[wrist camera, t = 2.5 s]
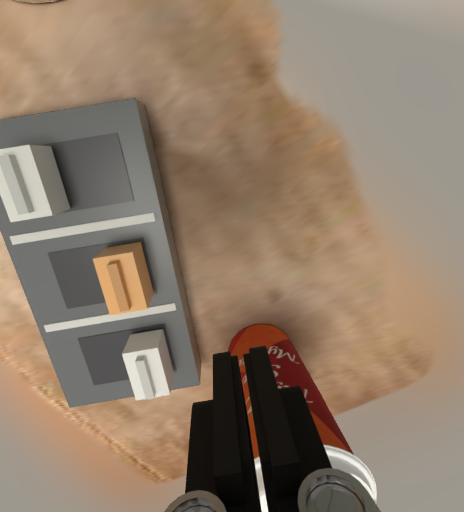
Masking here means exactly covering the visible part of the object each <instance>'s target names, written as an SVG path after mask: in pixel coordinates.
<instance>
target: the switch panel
mask: <svg viewBox="0 0 464 512" xmlns="http://www.w3.org/2000/svg"><path fill="white" fill-rule="evenodd" d="M24 145H42V146H51V148H52V151H53V154H54V158H55V161H56V164H57V167H58V170H59V173H60V177H61V180H62V183H63V186H64V189H65V193H66V196H67V199H68V202H69V205H70V209H69V210H66V211H63V212H61V213H58V214H55V215H52V216H46V217H40V218H34V219H28V220H22V221H16V222H10V219H9V217H8V214H7V211H6V209H5V206H4V203H3V201H2V198H1V195H0V231H1V233H2V236H3V239H4V241H5V244H6V246H7V249H8V251H9V254H10V256H11V259H12V262H13V264H14V267H15V269H16V272H17V274H18V277H19V279H20V282H21V285H22V287H23V290H24V292H25V295H26V297H27V300H28V303H29V305H30V308H31V310H32V313H33V315H34V318H35V320H36V323H37V326H38V328H39V331H40V333H41V336H42V338H43V341H44V343H45V346H46V349H47V351H48V354H49V356H50V359H51V361H52V364H53V367H54V369H55V372H56V374H57V377H58V379H59V382H60V384H61V387H62V390H63V392H64V395H65V397H66V400H67V402H68V405H69V407H70V408H71V407H76V406H82V405H88V404H94V403H99V402H105V401H111V400H117V399H122V398H128V397H134V396H135V395H134V392H133V389H132V386H131V382H130V379H129V376H128V373H127V369H126V366H125V363H124V360H123V356H122V352H123V350H124V348H125V346H126V344H127V341H128V339H129V337H130V335H131V334H137V333H143V332H148V331H154V330H160V329H163V331H164V335H165V339H166V343H167V347H168V351H169V355H170V359H171V363H172V367H173V371H174V374H173V380H172V386H171V390H174V389H180V388H186V387H191V386H197V385H200V376H201V360H200V355H199V351H198V346H197V342H196V337H195V333H194V328H193V323H192V319H191V314H190V310H189V305H188V301H187V296H186V292H185V287H184V282H183V278H182V273H181V269H180V264H179V260H178V255H177V250H176V246H175V241H174V237H173V232H172V228H171V223H170V218H169V214H168V209H167V205H166V200H165V196H164V191H163V186H162V182H161V177H160V173H159V168H158V164H157V159H156V154H155V150H154V145H153V141H152V136H151V132H150V127H149V122H148V118H147V113H146V109H145V105H143V104H142V103H141V102H140V101H138V100H137V99H136V98H133V99H127V100H121V101H114V102H108V103H102V104H96V105H89V106H83V107H77V108H70V109H64V110H58V111H52V112H45V113H39V114H33V115H27V116H20V117H14V118H8V119H2V120H0V149H5V148H11V147H17V146H24ZM137 242H141V244H142V248H143V252H144V256H145V260H146V264H147V268H148V272H149V276H150V280H151V284H152V288H153V292H154V295H153V297H152V299H151V302H150V304H149V307H148V309H146V310H140V311H134V312H128V313H122V314H116V315H110V314H109V311H108V307H107V304H106V301H105V298H104V294H103V291H102V288H101V285H100V281H99V278H98V275H97V272H96V268H95V265H94V262H93V258H94V257H95V256H96V255H97V254H99V253H100V252H101V251H102V250H103V249H104V248H107V247H113V246H119V245H125V244H131V243H137Z"/></svg>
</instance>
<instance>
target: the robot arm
mask: <svg viewBox="0 0 464 512" xmlns="http://www.w3.org/2000/svg"><path fill="white" fill-rule="evenodd" d="M14 1H20V2H28V3H44V2H54V1H57V0H14ZM243 358H244V364H245V370H246V376H247V383H248V389H249V395H250V401H251V408H252V414H253V420H254V426H255V433H256V439H257V445H258V451H259V458H260V464H261V470H262V476H263V482H264V489H265V495H266V501H267V507H268V512H381V511H380V510H379V508H378V507H377V505H376V503H375V502H374V500H373V499H372V497H371V495H370V494H369V492H368V491H367V490H366V488H365V487H364V486H363V485H362V484H361V482H360V481H359V480H357V479H356V478H355V477H353V476H352V475H351V474H349V473H346V472H344V471H341V470H339V469H333V468H332V466H331V463H330V461H329V458H328V455H327V453H326V450H325V448H324V445H323V443H322V440H321V438H320V435H319V432H318V430H317V427H316V425H315V422H314V420H313V417H312V415H311V412H310V409H309V407H308V404H307V402H306V399H305V397H304V394H303V392H302V389H301V387H300V386H299V385H297V386H291V387H285V388H279V389H278V386H277V382H276V379H275V375H274V372H273V368H272V365H271V362H270V358H269V355H268V351H267V348H266V345H265V346H259V347H253V348H249V353H246V354H243ZM165 512H262V511H261V504H260V497H259V490H258V482H257V475H256V468H255V461H254V454H253V447H252V440H251V433H250V427H249V420H248V414H247V408H246V403H245V397H244V391H243V385H242V379H241V373H240V367H239V361H238V355H234V356H231V353H230V351H229V352H223V353H217V354H213V400H208V401H202V402H196V403H193V405H192V414H191V427H190V439H189V452H188V464H187V477H186V490H185V494H184V495H182V496H180V497H178V498H177V499H176V500H175V501H173V502H172V503H171V504H170V505H169V506H168V508H167V509H166V511H165Z"/></svg>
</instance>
